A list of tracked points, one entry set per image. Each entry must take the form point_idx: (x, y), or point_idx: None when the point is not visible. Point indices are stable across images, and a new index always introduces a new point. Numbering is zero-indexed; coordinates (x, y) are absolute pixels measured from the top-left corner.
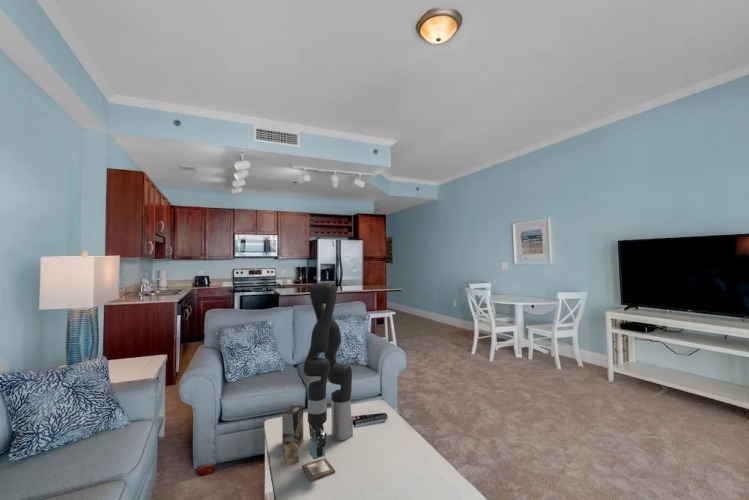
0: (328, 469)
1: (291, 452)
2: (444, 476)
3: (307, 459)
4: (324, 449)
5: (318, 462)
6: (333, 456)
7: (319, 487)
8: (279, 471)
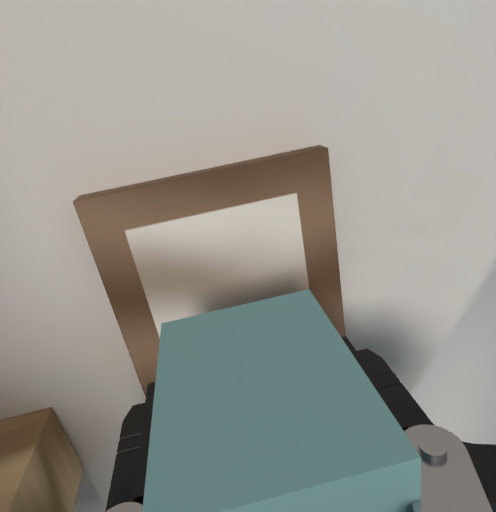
0: (292, 206)
1: None
2: None
3: (27, 345)
4: (342, 343)
5: (147, 277)
6: (23, 91)
7: (420, 290)
8: None
